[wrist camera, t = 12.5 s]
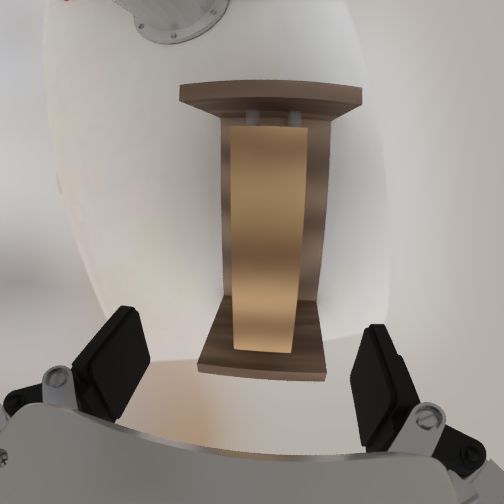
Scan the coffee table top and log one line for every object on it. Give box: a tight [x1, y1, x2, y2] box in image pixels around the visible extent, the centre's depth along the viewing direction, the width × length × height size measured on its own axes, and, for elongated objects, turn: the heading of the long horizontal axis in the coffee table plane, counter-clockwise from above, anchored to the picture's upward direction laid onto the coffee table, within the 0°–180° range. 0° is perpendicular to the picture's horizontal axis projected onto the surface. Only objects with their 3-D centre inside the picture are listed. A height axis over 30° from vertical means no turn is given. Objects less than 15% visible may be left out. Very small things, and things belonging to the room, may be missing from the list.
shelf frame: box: [179, 80, 362, 381], centre depth 26 cm, size 24×12×14 cm, turn 179°
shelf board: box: [231, 126, 308, 353], centre depth 23 cm, size 18×5×6 cm, turn 179°
